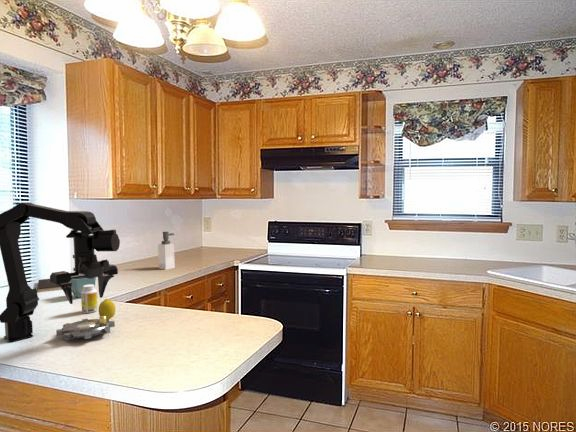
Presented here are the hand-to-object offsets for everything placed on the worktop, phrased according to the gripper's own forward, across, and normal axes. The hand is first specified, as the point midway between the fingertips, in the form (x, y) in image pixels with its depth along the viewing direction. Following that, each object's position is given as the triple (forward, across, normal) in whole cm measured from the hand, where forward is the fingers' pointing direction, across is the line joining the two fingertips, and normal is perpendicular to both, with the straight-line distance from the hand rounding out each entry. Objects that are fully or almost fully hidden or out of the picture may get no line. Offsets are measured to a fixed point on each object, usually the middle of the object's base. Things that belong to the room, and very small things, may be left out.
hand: (86, 300), depth 129 cm
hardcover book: (+13, +22, +88) cm, 91 cm away
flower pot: (+12, +21, +54) cm, 60 cm away
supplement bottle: (+12, +13, +29) cm, 34 cm away
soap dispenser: (+12, +82, +82) cm, 117 cm away
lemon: (+12, +12, +12) cm, 20 cm away
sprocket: (+10, +1, +3) cm, 11 cm away
